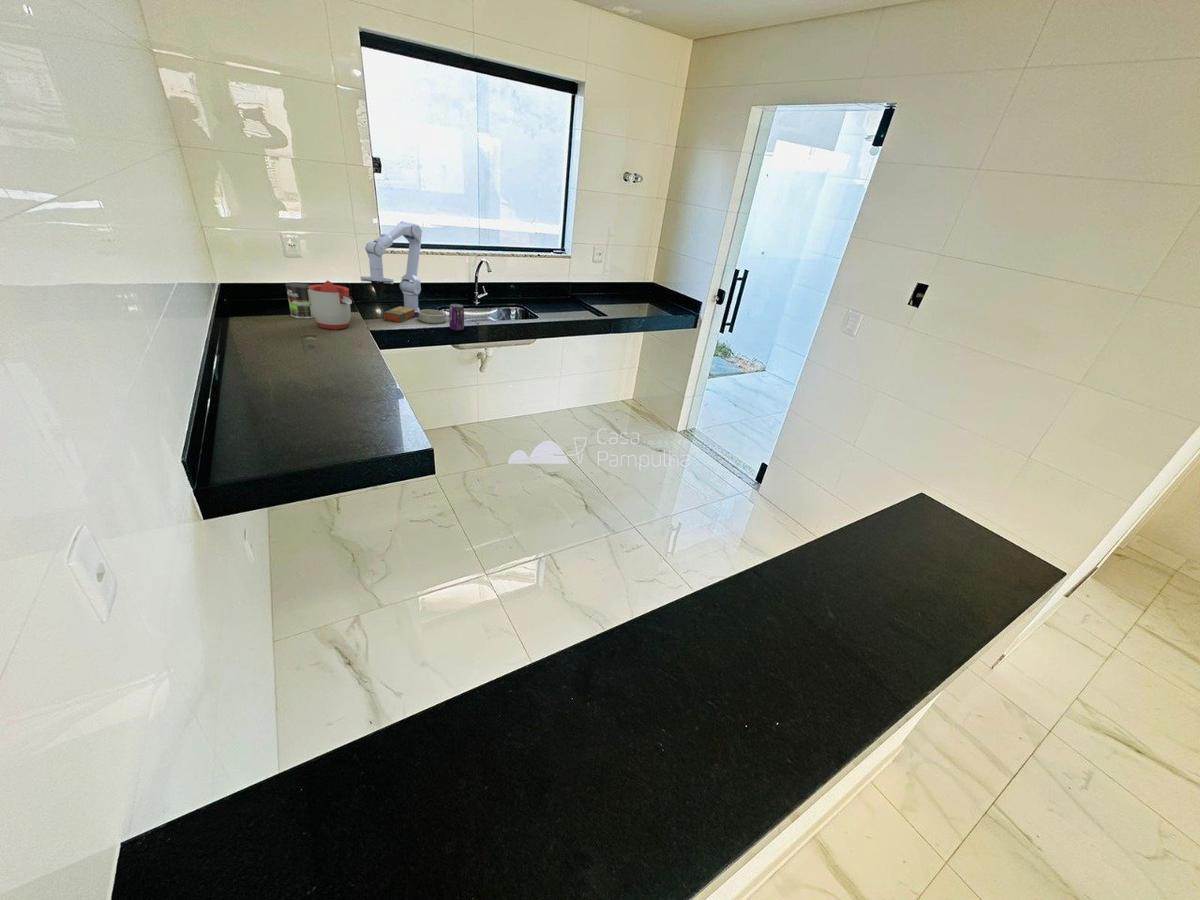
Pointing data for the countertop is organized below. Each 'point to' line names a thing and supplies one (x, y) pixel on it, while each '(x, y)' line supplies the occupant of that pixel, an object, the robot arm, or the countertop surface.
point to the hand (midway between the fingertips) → (378, 297)
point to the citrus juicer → (330, 305)
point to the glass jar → (299, 300)
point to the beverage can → (456, 317)
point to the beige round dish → (431, 316)
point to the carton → (399, 314)
